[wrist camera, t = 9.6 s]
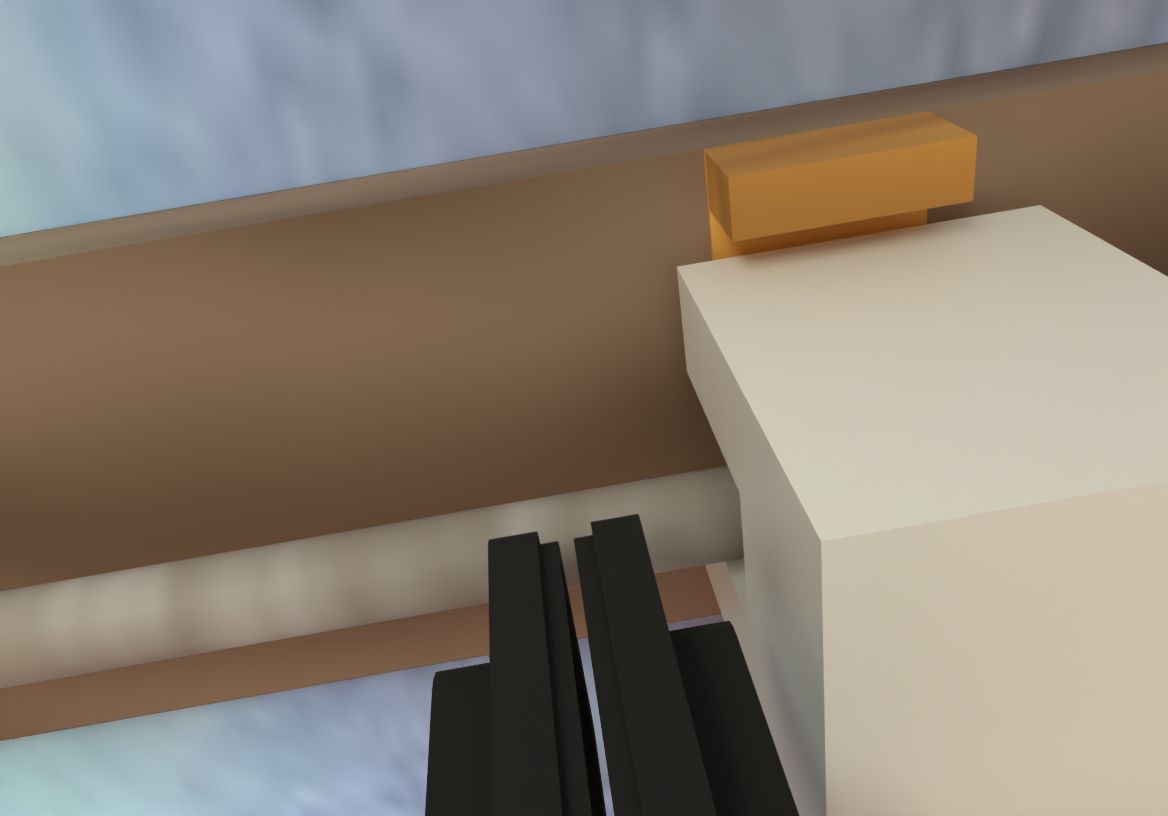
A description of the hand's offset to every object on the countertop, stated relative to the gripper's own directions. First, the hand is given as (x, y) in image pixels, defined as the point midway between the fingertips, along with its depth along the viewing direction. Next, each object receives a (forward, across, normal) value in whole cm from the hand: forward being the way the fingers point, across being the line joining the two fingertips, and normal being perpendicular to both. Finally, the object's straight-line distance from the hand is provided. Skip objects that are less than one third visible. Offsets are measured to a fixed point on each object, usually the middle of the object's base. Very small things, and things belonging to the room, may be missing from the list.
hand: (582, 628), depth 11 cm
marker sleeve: (+4, -4, 0) cm, 6 cm away
